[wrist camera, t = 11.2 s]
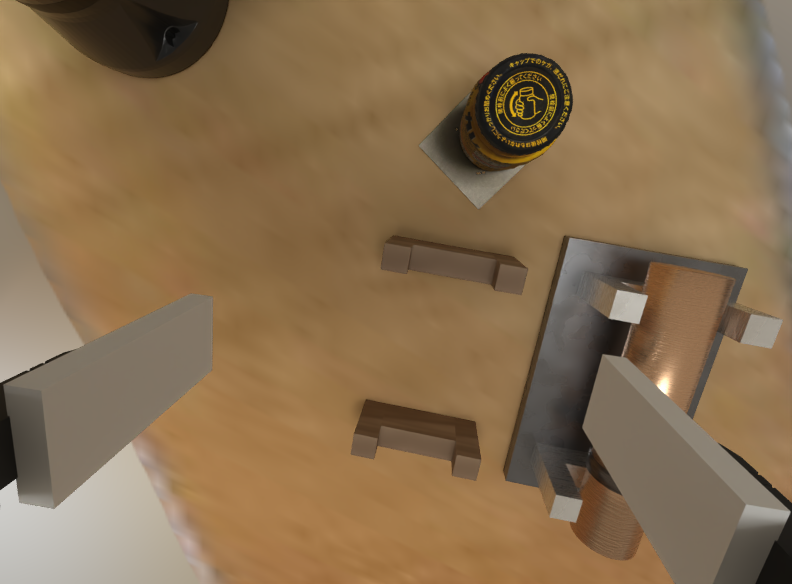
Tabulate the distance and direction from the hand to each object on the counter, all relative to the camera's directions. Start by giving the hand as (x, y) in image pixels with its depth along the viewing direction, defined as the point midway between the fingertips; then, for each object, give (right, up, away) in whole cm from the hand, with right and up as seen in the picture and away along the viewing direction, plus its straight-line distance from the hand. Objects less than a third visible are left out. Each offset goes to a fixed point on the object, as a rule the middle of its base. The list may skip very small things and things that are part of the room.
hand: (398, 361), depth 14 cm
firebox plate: (+19, -5, +24) cm, 31 cm away
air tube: (+19, -6, +20) cm, 28 cm away
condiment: (+7, +15, +21) cm, 27 cm away
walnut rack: (+3, -2, +25) cm, 25 cm away
